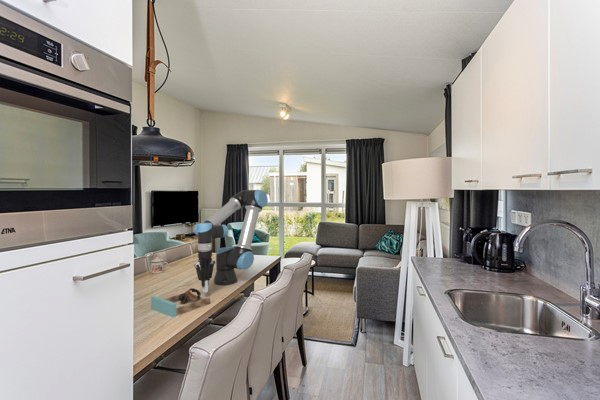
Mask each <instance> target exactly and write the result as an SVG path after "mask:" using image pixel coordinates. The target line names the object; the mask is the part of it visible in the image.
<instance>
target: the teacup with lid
mask: <svg viewBox="0 0 600 400" xmlns="http://www.w3.org/2000/svg"><path fill="white" fill-rule="evenodd" d="M165 264H166V267H164V265H165ZM168 267H169V263H168V261H165V260H164V259H163V258H160V256H156V257H155V258H154V259H152V260H150V273H151V274H154V275H155V274H156V275H157V274H163V273H164V272H165V269H167V268H168Z"/></svg>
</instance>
